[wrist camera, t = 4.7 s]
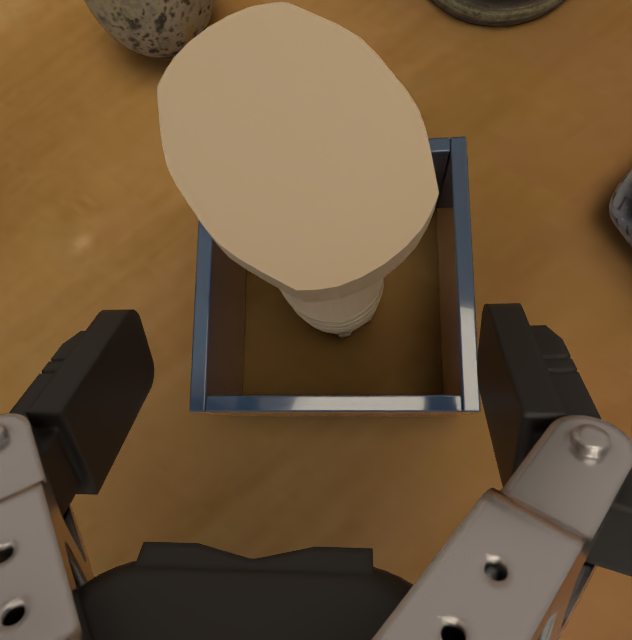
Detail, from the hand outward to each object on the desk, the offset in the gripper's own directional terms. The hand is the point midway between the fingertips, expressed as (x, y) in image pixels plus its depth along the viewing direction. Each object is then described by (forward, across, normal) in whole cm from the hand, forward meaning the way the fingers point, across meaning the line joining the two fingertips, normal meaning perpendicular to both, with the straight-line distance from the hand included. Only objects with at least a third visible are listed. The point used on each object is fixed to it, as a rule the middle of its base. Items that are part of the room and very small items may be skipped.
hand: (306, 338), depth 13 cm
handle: (+11, 0, +6) cm, 13 cm away
